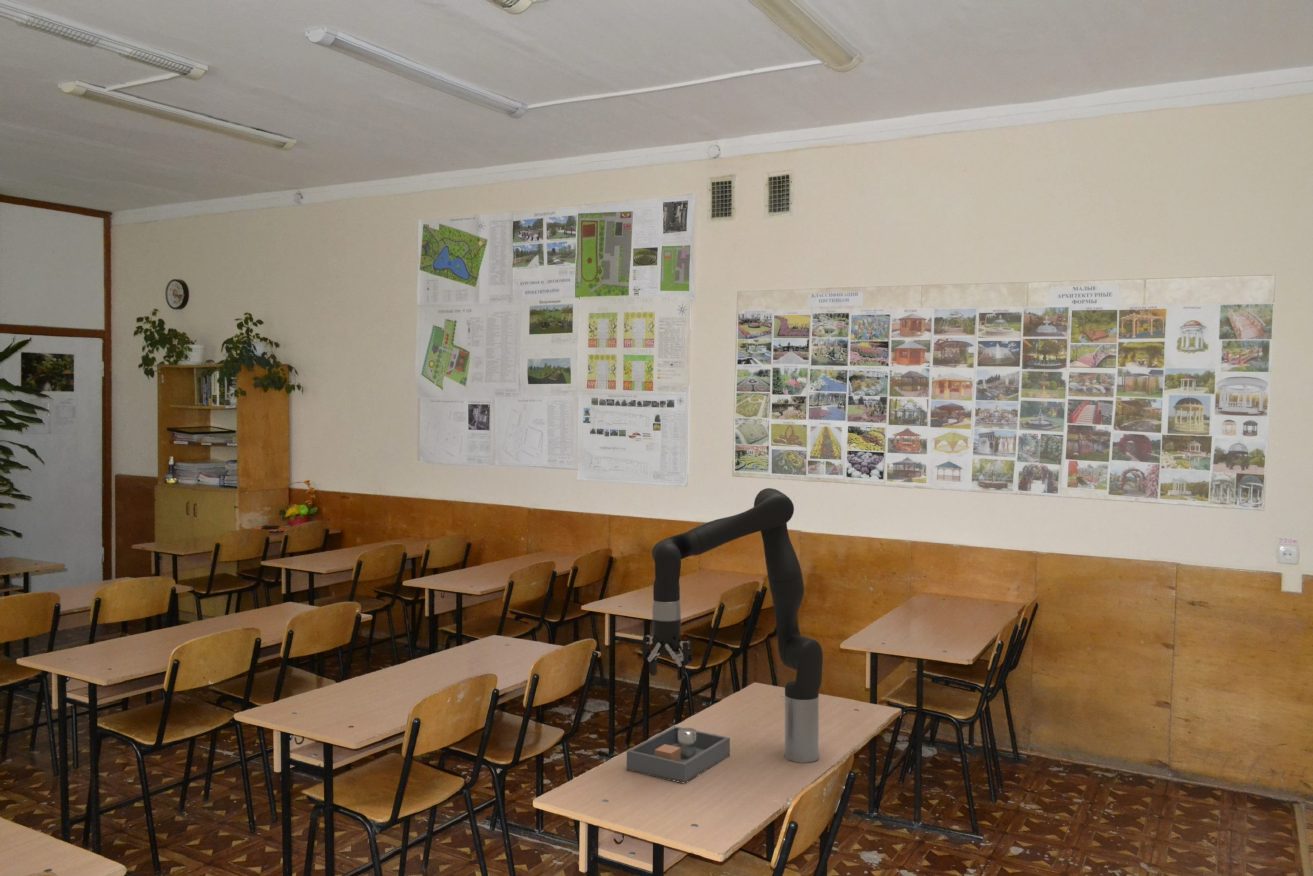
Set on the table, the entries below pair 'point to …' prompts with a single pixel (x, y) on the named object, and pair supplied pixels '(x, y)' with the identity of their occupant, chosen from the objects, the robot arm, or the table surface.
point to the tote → (707, 755)
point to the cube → (669, 752)
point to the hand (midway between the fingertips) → (667, 677)
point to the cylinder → (687, 742)
